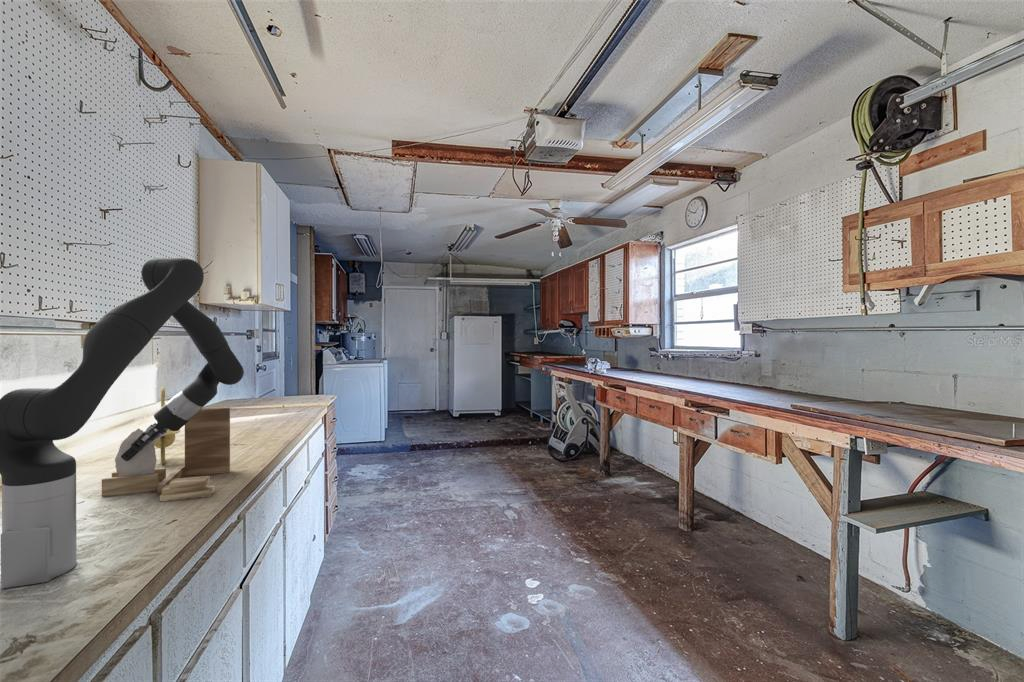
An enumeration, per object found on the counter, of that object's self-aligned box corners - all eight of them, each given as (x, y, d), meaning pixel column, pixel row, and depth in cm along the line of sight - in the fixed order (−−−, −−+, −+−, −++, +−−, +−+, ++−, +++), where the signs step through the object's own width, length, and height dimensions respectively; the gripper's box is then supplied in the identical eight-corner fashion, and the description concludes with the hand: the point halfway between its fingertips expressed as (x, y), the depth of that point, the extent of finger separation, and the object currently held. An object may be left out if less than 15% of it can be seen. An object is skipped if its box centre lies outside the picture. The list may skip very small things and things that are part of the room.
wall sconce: (145, 460, 152) (145, 386, 151) (180, 456, 157) (180, 385, 157) (142, 470, 141) (142, 391, 140) (180, 465, 146) (180, 389, 146)
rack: (215, 490, 124) (215, 418, 123) (157, 496, 119) (157, 421, 119) (230, 470, 141) (230, 407, 141) (180, 475, 136) (180, 409, 136)
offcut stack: (210, 496, 119) (210, 479, 119) (159, 501, 115) (159, 484, 115) (214, 490, 123) (214, 474, 123) (166, 495, 119) (166, 478, 119)
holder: (157, 491, 123) (157, 474, 123) (101, 496, 118) (101, 479, 118) (166, 483, 129) (166, 467, 129) (113, 487, 125) (113, 471, 125)
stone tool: (112, 487, 120) (112, 431, 120) (115, 484, 123) (116, 430, 123) (155, 482, 124) (156, 428, 125) (158, 479, 127) (158, 426, 128)
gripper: (176, 398, 133) (125, 443, 128) (159, 405, 120) (101, 455, 115) (197, 415, 135) (148, 459, 130) (183, 423, 122) (127, 473, 117)
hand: (126, 457), depth 123 cm, fingers closed on stone tool, 2 cm apart
